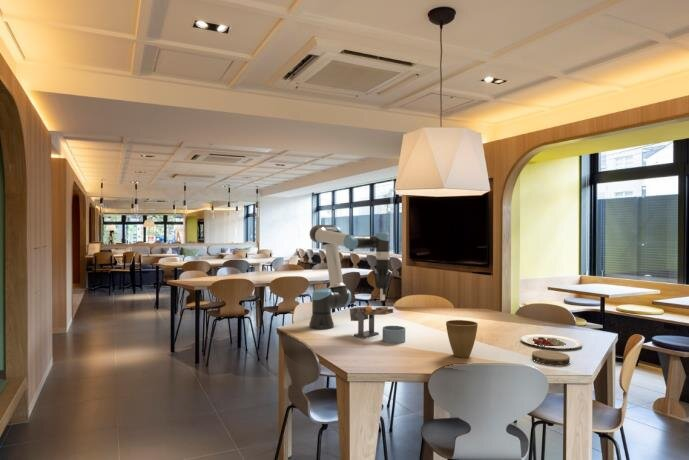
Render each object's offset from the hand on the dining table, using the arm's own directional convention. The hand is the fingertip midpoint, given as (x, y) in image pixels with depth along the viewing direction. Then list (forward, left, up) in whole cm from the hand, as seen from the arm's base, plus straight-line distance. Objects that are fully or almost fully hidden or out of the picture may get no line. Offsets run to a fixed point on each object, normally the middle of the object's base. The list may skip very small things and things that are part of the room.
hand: (382, 300), depth 261 cm
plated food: (+79, +44, -21) cm, 93 cm away
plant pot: (+54, -10, -20) cm, 58 cm away
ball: (-5, -7, -5) cm, 10 cm away
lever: (-2, -4, -11) cm, 11 cm away
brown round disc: (+89, +10, -21) cm, 92 cm away
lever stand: (-6, -7, -20) cm, 22 cm away
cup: (+13, -7, -20) cm, 25 cm away
